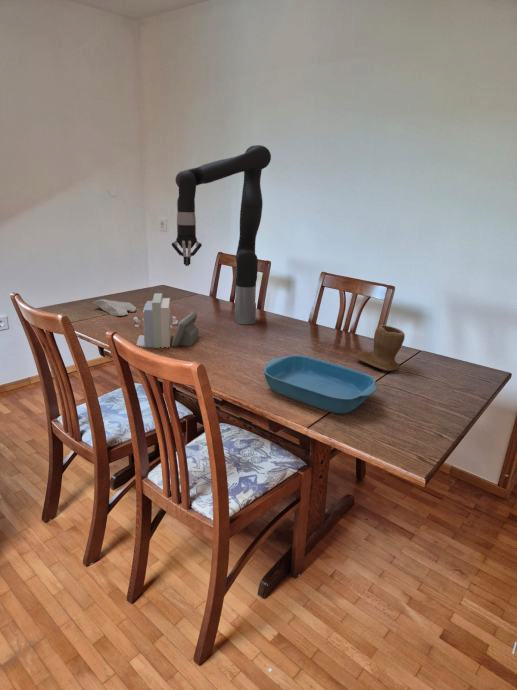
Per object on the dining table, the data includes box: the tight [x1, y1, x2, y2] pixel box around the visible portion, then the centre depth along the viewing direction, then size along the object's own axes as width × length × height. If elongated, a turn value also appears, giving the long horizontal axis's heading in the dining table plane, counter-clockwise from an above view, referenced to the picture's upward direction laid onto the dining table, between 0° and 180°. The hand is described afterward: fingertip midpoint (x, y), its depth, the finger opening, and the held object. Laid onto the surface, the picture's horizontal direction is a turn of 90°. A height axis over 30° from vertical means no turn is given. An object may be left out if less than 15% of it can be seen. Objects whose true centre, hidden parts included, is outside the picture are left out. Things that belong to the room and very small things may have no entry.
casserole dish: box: [263, 354, 378, 415], centre depth 141 cm, size 37×22×7 cm, turn 53°
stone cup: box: [354, 324, 406, 372], centre depth 163 cm, size 15×12×15 cm
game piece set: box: [133, 316, 179, 331], centre depth 200 cm, size 19×20×4 cm
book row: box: [135, 292, 172, 349], centre depth 176 cm, size 13×14×18 cm
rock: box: [92, 298, 137, 317], centre depth 216 cm, size 21×5×15 cm
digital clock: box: [171, 311, 199, 348], centre depth 179 cm, size 16×9×11 cm, turn 156°
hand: (187, 265), depth 189 cm, fingers closed
